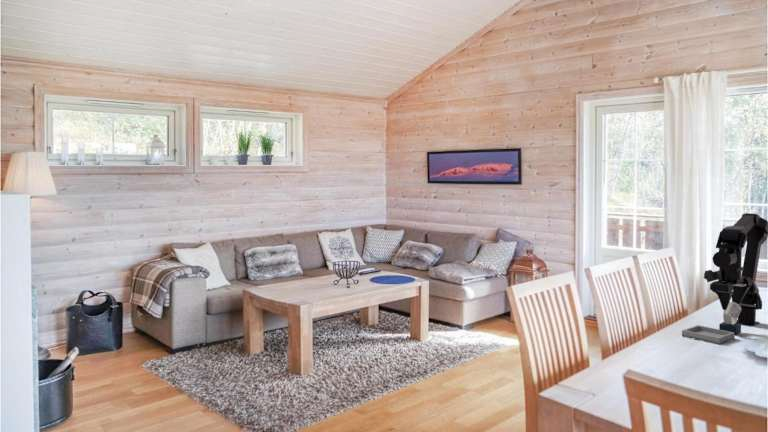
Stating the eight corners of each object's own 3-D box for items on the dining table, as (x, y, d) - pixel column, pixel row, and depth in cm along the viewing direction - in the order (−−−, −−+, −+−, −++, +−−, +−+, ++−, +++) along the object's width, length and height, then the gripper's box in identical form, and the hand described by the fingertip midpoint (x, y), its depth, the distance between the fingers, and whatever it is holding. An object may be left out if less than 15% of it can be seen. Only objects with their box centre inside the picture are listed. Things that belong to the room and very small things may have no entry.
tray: (697, 330, 216) (697, 325, 216) (734, 338, 206) (734, 332, 206) (681, 336, 210) (682, 330, 210) (719, 344, 200) (719, 338, 200)
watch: (742, 332, 214) (743, 301, 213) (734, 336, 209) (735, 305, 208) (725, 328, 218) (726, 299, 217) (717, 333, 213) (717, 302, 212)
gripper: (721, 258, 223) (720, 299, 224) (695, 264, 212) (694, 307, 214) (753, 262, 214) (752, 305, 215) (728, 268, 203) (727, 313, 205)
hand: (730, 307), depth 213 cm, fingers open, 9 cm apart
